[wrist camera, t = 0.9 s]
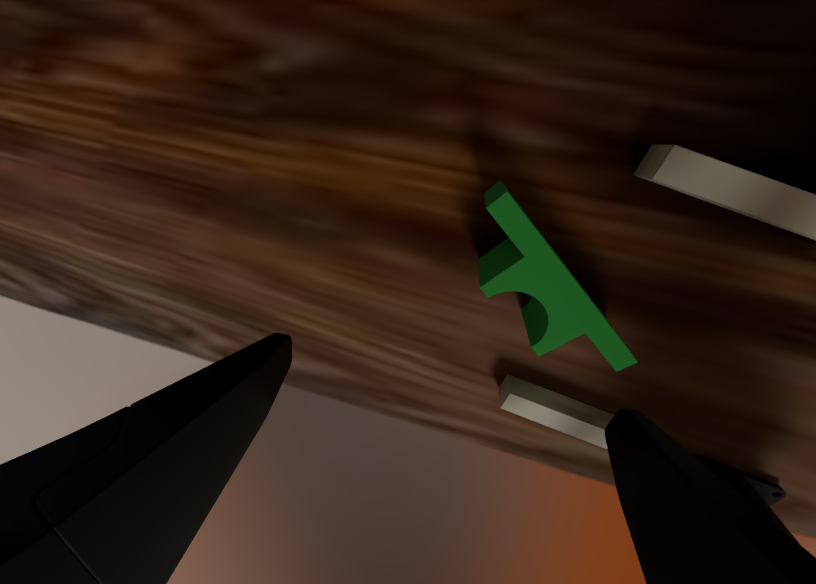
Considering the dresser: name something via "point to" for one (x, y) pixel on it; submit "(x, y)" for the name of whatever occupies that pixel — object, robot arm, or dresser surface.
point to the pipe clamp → (543, 285)
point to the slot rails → (697, 180)
